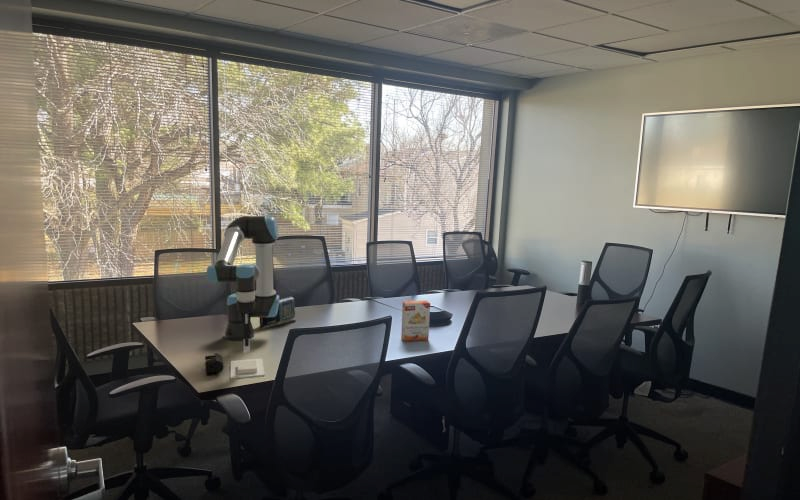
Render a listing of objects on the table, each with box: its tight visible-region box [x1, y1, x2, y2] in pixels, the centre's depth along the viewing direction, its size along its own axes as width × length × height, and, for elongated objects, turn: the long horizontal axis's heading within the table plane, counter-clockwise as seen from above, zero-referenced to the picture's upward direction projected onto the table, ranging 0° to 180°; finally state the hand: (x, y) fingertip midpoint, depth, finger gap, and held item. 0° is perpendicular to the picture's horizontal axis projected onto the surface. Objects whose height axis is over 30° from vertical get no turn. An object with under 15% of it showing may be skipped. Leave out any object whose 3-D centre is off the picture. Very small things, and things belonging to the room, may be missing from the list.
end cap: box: [204, 352, 224, 377], centre depth 222 cm, size 10×7×7 cm
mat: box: [229, 357, 265, 380], centre depth 226 cm, size 20×14×1 cm
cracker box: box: [400, 300, 431, 342], centre depth 271 cm, size 14×6×21 cm, turn 105°
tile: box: [238, 360, 257, 374], centre depth 224 cm, size 2×8×10 cm
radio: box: [258, 295, 297, 330], centre depth 292 cm, size 23×9×15 cm, turn 129°
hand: (246, 352), depth 223 cm, fingers closed
